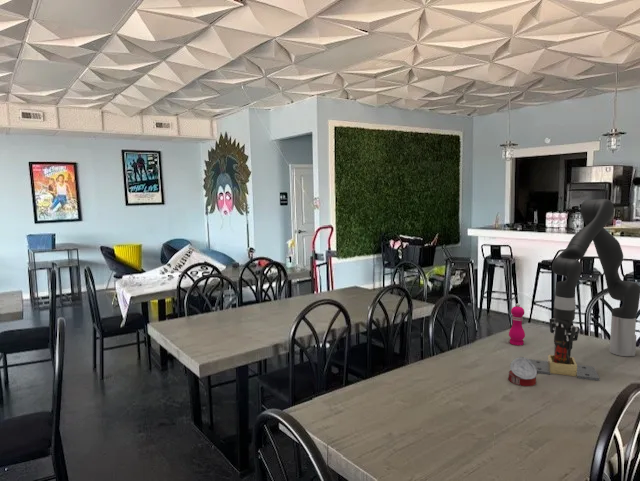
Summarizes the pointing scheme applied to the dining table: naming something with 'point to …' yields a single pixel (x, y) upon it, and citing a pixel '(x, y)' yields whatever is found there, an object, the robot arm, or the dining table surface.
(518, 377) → the canned food
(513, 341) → the pepper mill
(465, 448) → the dining table surface
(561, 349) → the deodorant
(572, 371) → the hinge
